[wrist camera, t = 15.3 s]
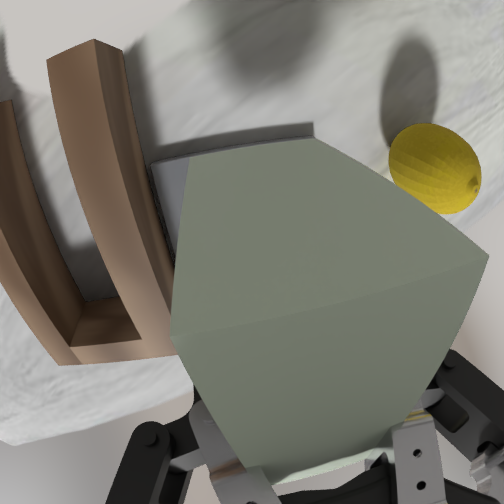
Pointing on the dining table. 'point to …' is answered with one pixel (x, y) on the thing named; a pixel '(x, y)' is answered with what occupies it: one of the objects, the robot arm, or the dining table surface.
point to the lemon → (435, 167)
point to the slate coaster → (174, 179)
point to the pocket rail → (98, 216)
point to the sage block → (312, 302)
